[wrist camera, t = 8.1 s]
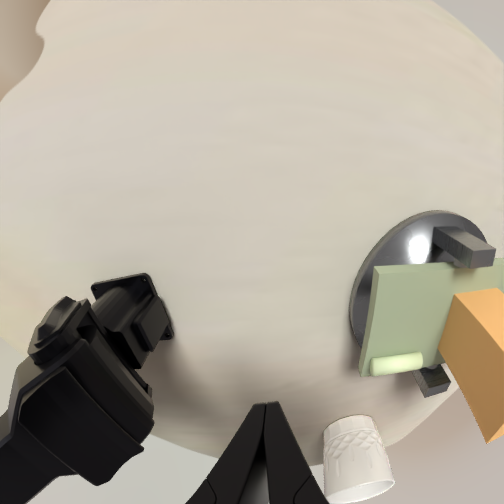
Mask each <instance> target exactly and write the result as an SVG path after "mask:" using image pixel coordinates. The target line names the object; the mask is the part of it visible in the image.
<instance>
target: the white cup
mask: <svg viewBox="0 0 504 504" xmlns="http://www.w3.org/2000/svg"><path fill="white" fill-rule="evenodd" d="M323 439H324V450H323V456H324V459H323V463H324V496H325V497H326V499H327V500H328V502H329V503H330V504H346V503H353V502H357V501H361V500H365V499H368V498H371V497H374V496H377V495H379V494H381V493H383V492H385V491H387V490H388V489H390V488H391V487H393V486H394V484H395V480H394V476H393V473H392V470H391V467H390V463H389V460H388V457H387V454H386V451H385V449H384V446H383V443H382V440H381V437H380V435H379V434H378V431H377V428H376V425H375V422H374V420H373V419H372V418H371V417H369V416H365V415H355V416H349V417H346V418H342V419H339V420H337V421H335V422H334V423H332V424H330V425H329V426H328V427H327V428H326V429H325V430H324V433H323Z"/></svg>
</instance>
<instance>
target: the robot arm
mask: <svg viewBox="0 0 504 504" xmlns="http://www.w3.org/2000/svg"><path fill="white" fill-rule="evenodd" d="M142 278H144V279H145V280H146V281H144V280H143V279H142ZM95 287H96V288H97V289H96V288H95ZM91 290H92V293H93V295H94V297H95V299H96V302H95V303H94V304H93V305H92V306H91V304H90V302H89V300H88V299H87V298H86V299H84V300H81V301H78V302H76V301H75V300H72V299H71V298H69V297H67V296H65V297H63V298H62V299H60V300H59V301H58V302H57V303H56V304H55V305H54V306H53V307H51V308H50V309H49V311H48V312H47V313H46V315H45V316H44V318H43V320H42V321H41V323H40V324H39V325H37V326H36V328H35V330H34V333H33V336H32V339H31V342H30V345H29V348H28V354H29V356H28V357H27V358H26V359H25V360H24V361H23V362H22V363H21V364H20V365H19V366H18V367H17V369H16V372H15V377H14V381H13V385H12V390H11V395H10V400H9V406H8V410H7V411H6V412H5V413H4V414H3V415H2V416H1V417H0V504H27V503H28V502H29V501H30V500H31V499H33V498H34V497H35V496H36V495H37V494H38V493H40V492H41V491H42V490H43V489H44V488H45V487H46V486H47V485H49V484H50V483H51V482H52V481H53V480H55V479H56V478H58V477H59V476H68V475H78V474H79V475H80V476H81V477H83V478H84V479H86V480H87V481H89V482H90V483H92V484H93V485H95V486H99V485H101V484H104V483H106V482H108V481H110V480H111V478H112V477H113V476H114V475H115V473H116V472H117V471H118V470H119V468H120V467H121V466H122V465H123V464H124V463H125V462H127V461H128V460H129V459H130V458H132V457H133V456H135V455H137V454H139V453H141V452H143V450H144V447H142V446H141V445H140V444H141V443H142V442H143V441H144V439H145V438H146V437H147V436H148V435H149V433H150V432H151V430H152V428H153V426H154V420H153V419H152V418H153V411H154V405H153V401H152V388H151V387H150V386H149V385H148V384H146V383H145V382H144V381H143V379H142V378H141V377H140V376H139V374H138V373H137V372H136V371H135V369H141V367H142V365H143V364H144V362H145V360H146V358H147V356H148V354H149V352H153V351H154V349H155V347H156V345H157V343H158V341H159V340H169V339H171V338H172V337H173V331H172V328H171V326H170V324H169V319H168V317H167V315H166V312H165V310H164V308H163V305H162V303H161V301H160V298H159V297H158V296H157V294H156V291H155V289H154V286H153V284H152V281H151V279H150V277H149V275H148V274H146V273H140V274H136V275H131V276H126V277H121V278H116V279H111V280H106V281H102V282H97V283H94V284H93V285H92V286H91ZM166 333H168V334H169V335H168V334H166ZM206 478H207V479H205V480H204V481H203V483H202V484H201V485H200V487H199V488H198V489H197V491H196V492H195V493H194V494H193V496H192V497H191V498H190V499H189V500H188V501H187V502H186V503H185V504H268V503H269V504H330V503H329V502H328V500H327V499H326V497H325V496H324V495H323V493H322V491H321V489H320V487H319V486H318V484H317V482H316V480H315V478H314V476H313V475H312V472H311V470H310V468H309V466H308V464H307V462H306V460H305V457H304V455H303V453H302V451H301V449H300V447H299V445H298V443H297V441H296V438H295V436H294V434H293V432H292V430H291V428H290V426H289V423H288V421H287V419H286V417H285V415H284V412H283V410H282V408H281V406H280V404H279V402H278V401H274V402H268V403H267V404H266V403H256V404H254V405H253V407H252V408H251V410H250V412H249V413H248V415H247V416H246V418H245V420H244V421H243V423H242V425H241V426H240V428H239V429H238V431H237V433H236V434H235V436H234V437H233V439H232V440H231V442H230V443H229V445H228V446H227V448H226V449H225V451H224V452H223V454H222V455H221V457H220V458H219V460H218V462H217V463H216V464H215V466H214V467H213V469H212V470H211V472H210V473H209V474H208V476H207V477H206Z"/></svg>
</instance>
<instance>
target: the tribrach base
mask: <svg viewBox="0 0 504 504" xmlns="http://www.w3.org/2000/svg"><path fill="white" fill-rule="evenodd" d="M495 252H496V249H495V248H494V247H492V246H490V245H489V244H487V241H486V239H485V237H484V235H483V234H482V232H481V231H480V230H479V228H478V227H477V226H476V225H475V224H473V223H472V222H471V221H470V220H468V219H466V218H464V217H462V216H460V215H458V214H455V213H452V212H449V211H442V210H434V211H427V212H423V213H419V214H417V215H414V216H412V217H409V218H408V219H406V220H404V221H402V222H401V223H399V224H398V225H396V226H395V227H394V228H392V229H391V230H390V231H389V232H388V233H387V234H386V235H384V236H383V237H382V238H381V239H380V241H379V242H378V243H377V244H376V245H375V246H374V247H373V249H372V250H371V252H370V253H369V255H368V256H367V257H366V259H365V261H364V262H363V264H362V266H361V268H360V270H359V272H358V274H357V277H356V279H355V282H354V285H353V289H352V292H351V298H350V321H351V325H352V329H353V332H354V334H355V337H356V339H357V341H358V343H359V345H360V347H361V348H362V345H363V340H364V334H365V329H366V323H367V316H368V310H369V303H370V295H371V288H372V279H373V269H374V266H389V265H407V264H424V263H440V262H454V258H456V259H457V260H458V261H460V262H461V263H462V264H464V265H465V266H466V267H468V268H469V269H474V268H482V267H490V266H493V262H494V257H495ZM412 373H413V375H414V377H415V379H416V381H417V383H418V385H419V387H420V389H421V391H422V393H423V396H424V398H425V397H429V396H432V395H436V394H439V393H442V392H445V391H447V389H448V387H449V385H450V383H451V381H450V379H449V378H448V376H447V374H446V373H445V371H444V369H443V368H442V366H441V364H438V365H437V367H436V368H435V369H429V368H427V367H423V368H421V369H417V370H412Z"/></svg>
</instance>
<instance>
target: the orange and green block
mask: <svg viewBox="0 0 504 504" xmlns="http://www.w3.org/2000/svg"><path fill="white" fill-rule="evenodd" d="M442 363H446V364H447V365H448V367H449V369H450V371H451V372H452V374H453V376H454V378H455V380H456V381H457V383H458V385H459V387H460V389H461V390H462V393H463V395H464V397H465V398H466V400H467V402H468V404H469V406H470V409H471V411H472V412H473V415H474V417H475V419H476V421H477V423H478V425H479V428H480V430H481V432H482V434H483V437H484V439H485V441H486V444H487V443H489V442H491V441H493V440H495V439H497V438H498V437H500V436H502V435H504V258H495V259H494V262H493V266H490V267H482V268H474V269H469V268H468V267H466V266H465V265H464V264H462V263H461V262H460V261H458V260H457V259H456V258H454V262H440V263H424V264H407V265H389V266H374V269H373V279H372V288H371V295H370V303H369V310H368V316H367V323H366V329H365V334H364V340H363V345H362V350H361V355H360V360H359V365H358V369H359V372H360V376H361V377H365V376H380V375H387V374H394V373H400V372H406V371H412V370H417V369H421V368H423V367H427V368H429V369H435V368H436V367H437V365H438V364H442Z"/></svg>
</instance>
